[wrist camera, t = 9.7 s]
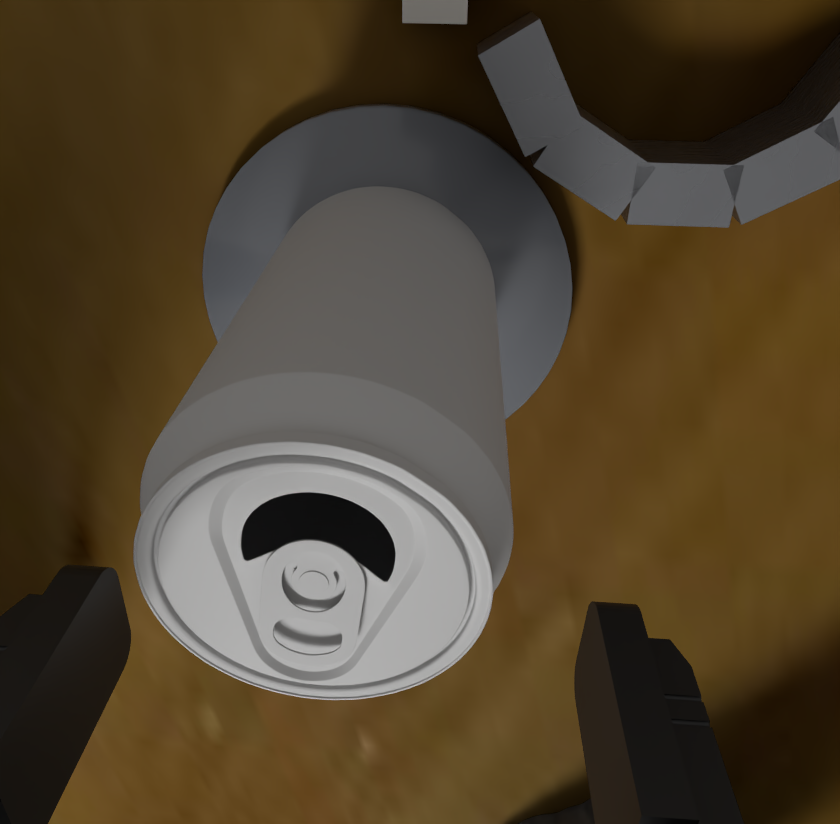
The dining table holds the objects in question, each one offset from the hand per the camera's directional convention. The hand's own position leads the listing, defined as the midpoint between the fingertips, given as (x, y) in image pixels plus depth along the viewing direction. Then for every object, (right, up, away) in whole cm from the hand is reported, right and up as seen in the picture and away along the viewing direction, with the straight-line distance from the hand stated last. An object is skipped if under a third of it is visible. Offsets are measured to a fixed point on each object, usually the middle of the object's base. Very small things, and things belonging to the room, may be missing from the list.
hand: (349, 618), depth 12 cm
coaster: (0, +7, +10) cm, 12 cm away
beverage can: (0, +7, +9) cm, 12 cm away
